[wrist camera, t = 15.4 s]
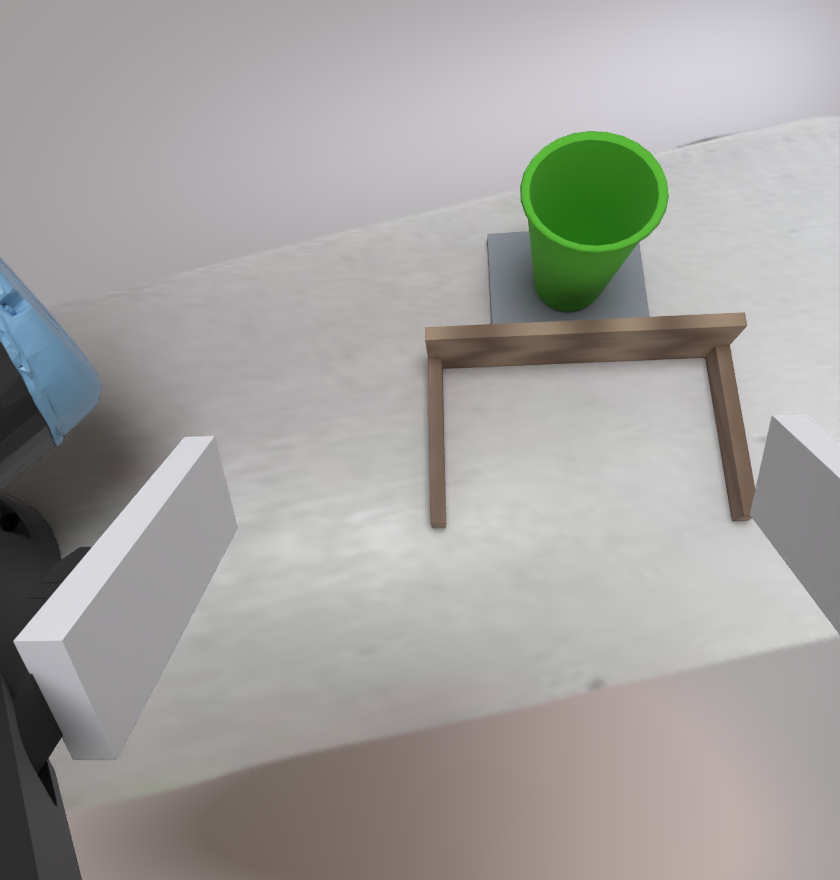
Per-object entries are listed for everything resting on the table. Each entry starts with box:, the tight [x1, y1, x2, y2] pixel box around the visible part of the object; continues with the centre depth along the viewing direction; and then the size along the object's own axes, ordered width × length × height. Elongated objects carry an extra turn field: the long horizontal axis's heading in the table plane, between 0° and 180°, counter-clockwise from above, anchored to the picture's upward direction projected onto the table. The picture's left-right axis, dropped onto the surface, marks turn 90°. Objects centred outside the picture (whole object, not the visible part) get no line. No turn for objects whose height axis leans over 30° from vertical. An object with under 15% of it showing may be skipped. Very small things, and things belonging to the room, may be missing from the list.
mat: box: [487, 232, 649, 324], centre depth 49 cm, size 12×10×1 cm
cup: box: [520, 131, 669, 312], centre depth 43 cm, size 9×9×11 cm
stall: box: [425, 313, 755, 528], centre depth 43 cm, size 22×14×5 cm, turn 91°
